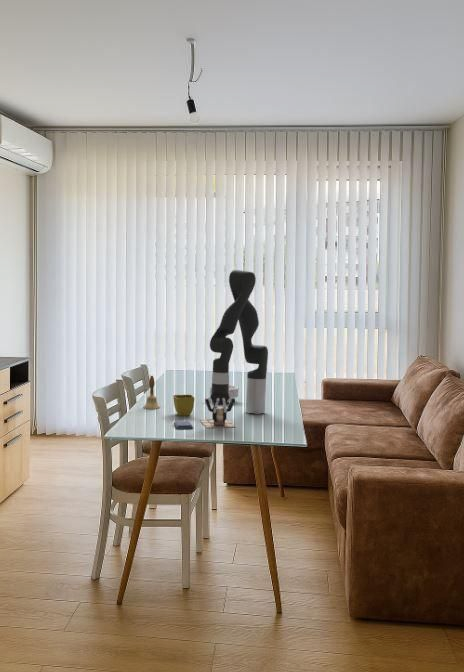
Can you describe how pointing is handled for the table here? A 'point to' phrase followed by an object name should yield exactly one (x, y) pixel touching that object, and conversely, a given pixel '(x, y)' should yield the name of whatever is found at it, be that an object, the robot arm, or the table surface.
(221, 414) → the stamp
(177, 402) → the flower pot
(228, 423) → the sheet
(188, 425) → the ink pad
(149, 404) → the hand bell
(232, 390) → the stone bowl
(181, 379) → the table surface
